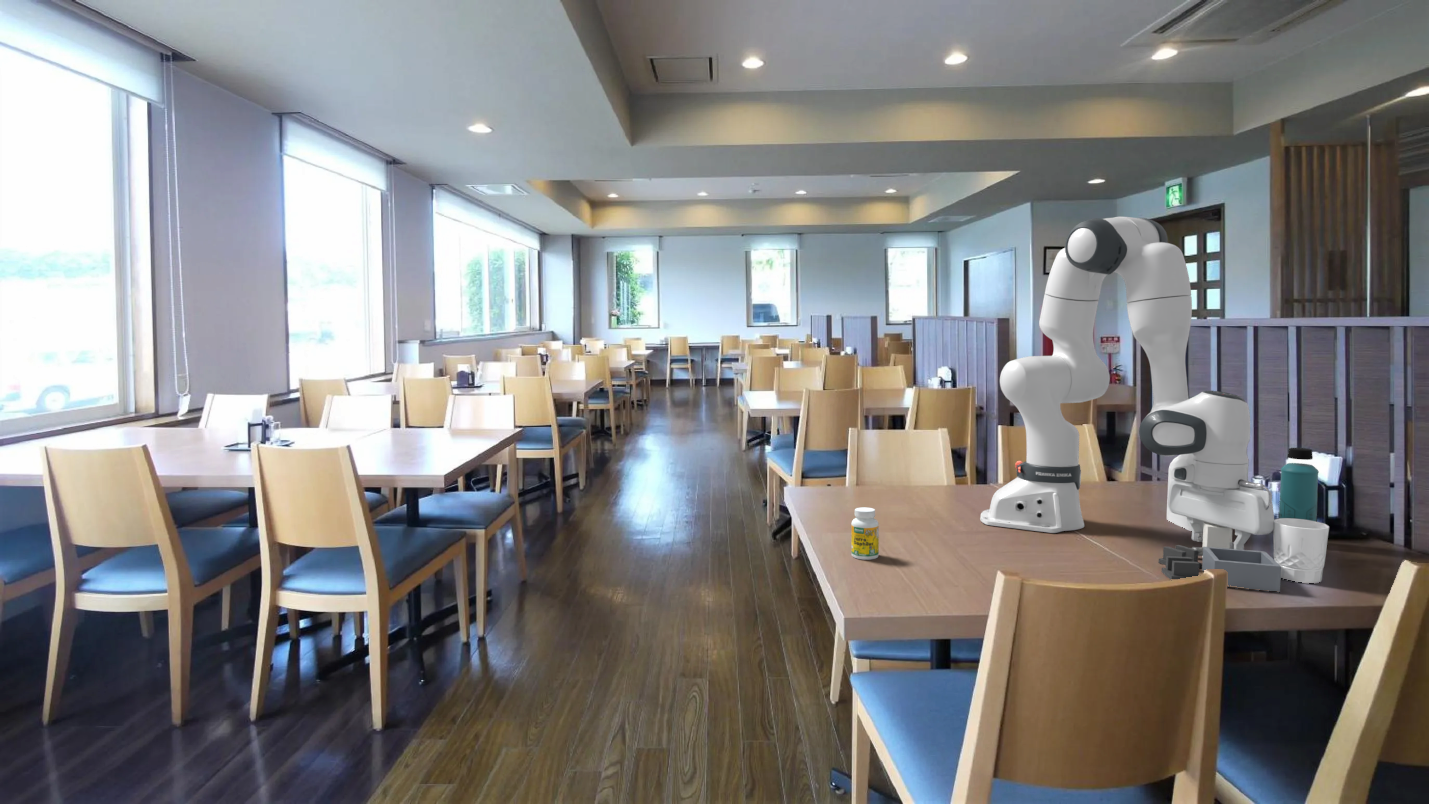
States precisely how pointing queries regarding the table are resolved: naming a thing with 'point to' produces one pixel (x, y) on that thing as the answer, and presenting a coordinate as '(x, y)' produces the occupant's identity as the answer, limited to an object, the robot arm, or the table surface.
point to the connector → (1215, 537)
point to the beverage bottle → (1299, 487)
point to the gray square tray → (1244, 567)
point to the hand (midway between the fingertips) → (1216, 546)
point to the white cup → (1300, 549)
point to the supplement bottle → (865, 534)
